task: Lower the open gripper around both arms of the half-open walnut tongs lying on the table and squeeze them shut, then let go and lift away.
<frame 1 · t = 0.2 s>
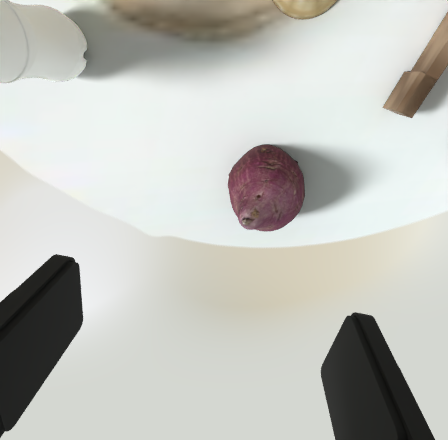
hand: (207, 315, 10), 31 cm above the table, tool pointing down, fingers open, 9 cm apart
vegetable: (265, 182, 40), on the table
water bottle: (66, 47, 35), on the table
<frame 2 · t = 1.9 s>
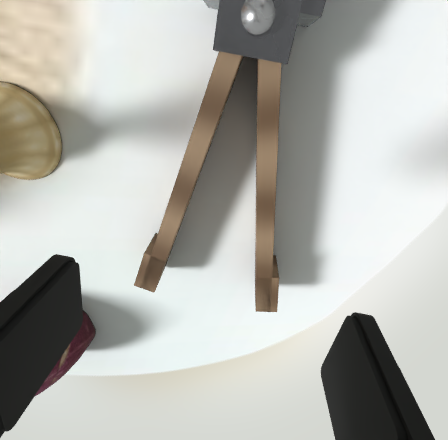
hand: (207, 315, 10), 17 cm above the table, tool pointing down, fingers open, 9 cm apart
tong arm 1: (268, 196, 24), point 2 cm above the table, hinge at 12.0°
hinge block: (256, 27, 20), on the table
tong arm 2: (183, 180, 24), point 2 cm above the table, hinge at -12.0°
vegetable: (55, 320, 36), on the table
hand bell: (17, 133, 26), on the table
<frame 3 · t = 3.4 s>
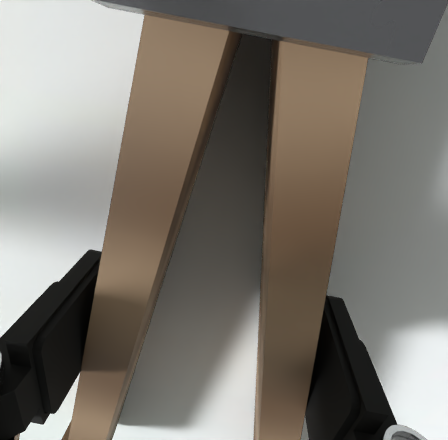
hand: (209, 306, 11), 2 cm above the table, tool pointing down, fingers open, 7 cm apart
tong arm 1: (286, 360, 11), point 2 cm above the table, hinge at 10.9°, touching gripper
tong arm 2: (116, 329, 11), point 2 cm above the table, hinge at -9.6°, touching gripper
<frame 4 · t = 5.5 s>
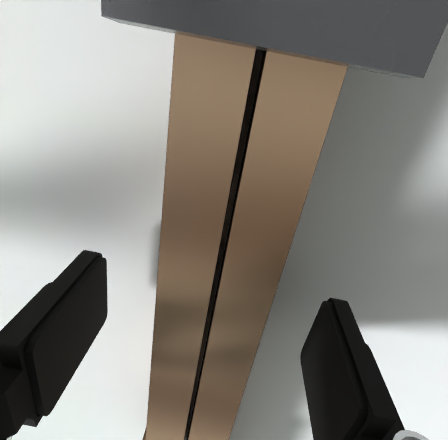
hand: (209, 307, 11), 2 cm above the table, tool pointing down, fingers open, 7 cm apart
tong arm 1: (230, 359, 11), point 2 cm above the table, hinge at 0.3°
tong arm 2: (174, 348, 11), point 2 cm above the table, hinge at 0.4°
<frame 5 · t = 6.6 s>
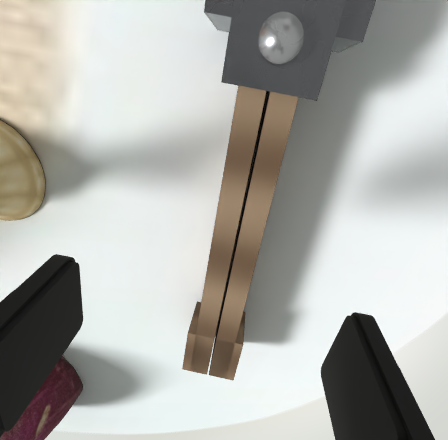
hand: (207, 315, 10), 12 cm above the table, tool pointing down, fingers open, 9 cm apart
tong arm 1: (249, 249, 20), point 2 cm above the table, hinge at 0.3°
hinge block: (274, 53, 17), on the table
tong arm 2: (219, 243, 20), point 2 cm above the table, hinge at 0.4°
vegetable: (38, 371, 32), on the table
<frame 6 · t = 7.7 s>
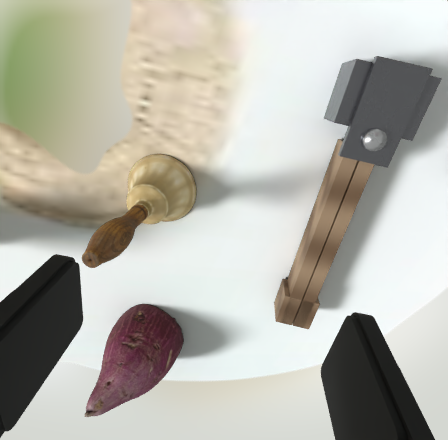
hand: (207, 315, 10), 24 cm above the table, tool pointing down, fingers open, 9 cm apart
tong arm 1: (329, 244, 33), point 2 cm above the table, hinge at 0.3°
hinge block: (355, 132, 30), on the table
tong arm 2: (310, 239, 33), point 2 cm above the table, hinge at 0.4°
vegetable: (151, 330, 44), on the table
hand bell: (162, 188, 35), on the table
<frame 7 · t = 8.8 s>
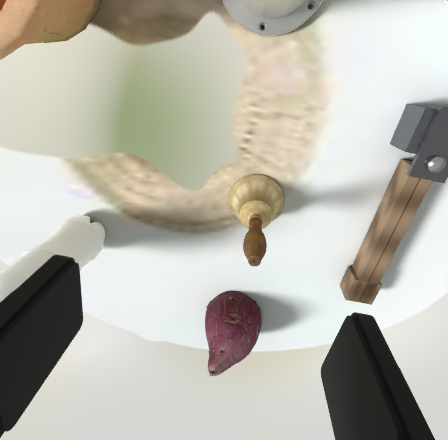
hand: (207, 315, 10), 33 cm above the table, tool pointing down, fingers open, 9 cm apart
tong arm 1: (390, 238, 42), point 2 cm above the table, hinge at 0.3°
hinge block: (413, 153, 39), on the table
tong arm 2: (375, 235, 42), point 2 cm above the table, hinge at 0.4°
vegetable: (234, 311, 55), on the table
hand bell: (255, 199, 44), on the table
water bottle: (90, 229, 49), on the table
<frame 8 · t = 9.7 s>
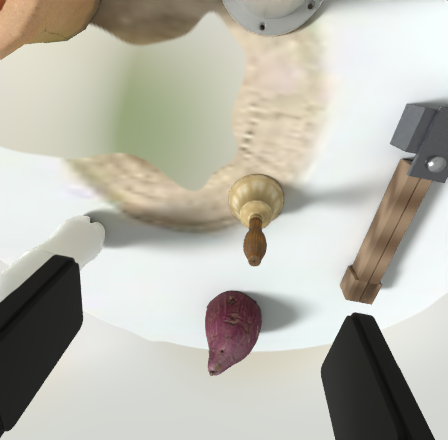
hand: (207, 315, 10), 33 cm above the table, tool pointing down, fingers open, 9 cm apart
tong arm 1: (390, 238, 42), point 2 cm above the table, hinge at 0.3°
hinge block: (413, 153, 39), on the table
tong arm 2: (375, 235, 42), point 2 cm above the table, hinge at 0.4°
vegetable: (234, 311, 55), on the table
hand bell: (255, 199, 44), on the table
water bottle: (90, 229, 49), on the table
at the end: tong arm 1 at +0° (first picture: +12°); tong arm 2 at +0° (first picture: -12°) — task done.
